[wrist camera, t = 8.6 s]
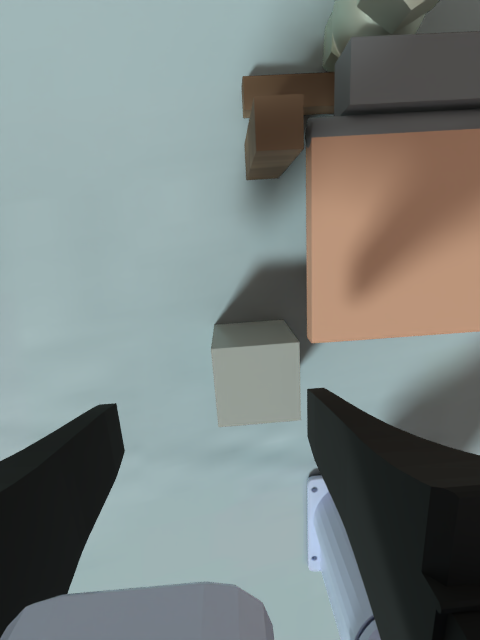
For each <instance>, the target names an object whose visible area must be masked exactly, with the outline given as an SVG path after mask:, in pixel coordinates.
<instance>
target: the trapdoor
mask: <svg viewBox="0 0 480 640" xmlns="http://www.w3.org/2000/svg"><path fill="white" fill-rule="evenodd" d="M305 140H306V234H307V338H308V339H309V340H310V342H311V343H324V342H338V341H352V340H366V339H380V338H394V337H408V336H422V335H436V334H450V333H464V332H478V331H480V31H474V32H452V33H430V34H408V35H385V36H363V37H351V39H350V40H349V42H348V44H347V45H346V47H345V48H344V50H343V52H342V53H341V55H340V56H339V58H338V60H337V61H336V63H335V83H334V116H329V117H310V118H308V121H307V125H306V133H305Z"/></svg>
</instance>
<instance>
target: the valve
mask: <svg viewBox="0 0 480 640" xmlns="http://www.w3.org/2000/svg"><path fill="white" fill-rule="evenodd" d="M439 1H440V0H335V3H334V7H333V12H332V14H331V16H330V18H329V20H328V22H327V24H326V27H325V34H324V50H323V68H324V69H325V70H326V71H328V72H335V63H336V61H337V60H338V58H339V56H340V55H341V53H342V52H343V50H344V48H345V47H346V45H347V44H348V42H349V40H350V39H351V37H363V36H385V35H408V34H415V33H416V32H417V30H418V29H419V27H420V25H421V23H422V21H423V19H424V17H425V14H426V13H427V12H429V11H430V10H432V9H433V8H434V7H435V5H436V4H437V3H438V2H439Z"/></svg>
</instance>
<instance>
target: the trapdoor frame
mask: <svg viewBox="0 0 480 640" xmlns="http://www.w3.org/2000/svg"><path fill="white" fill-rule="evenodd" d="M334 83H335V72H324V73H304V74H283V75H262V76H243V79H242V103H243V118H250V119H249V124H248V129H247V134H246V140H245V163H246V180H257V179H275V178H279V177H280V176H281V175H282V174H283V172H284V171H285V170H286V169H287V168H288V167H289V165H290V164H291V163H292V162H293V161H294V159H295V158H296V157H297V156H298V155H299V154H300V152H301V151H302V150H303V149H304V120H303V115H314V114H333V113H334Z"/></svg>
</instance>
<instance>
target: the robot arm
mask: <svg viewBox="0 0 480 640" xmlns="http://www.w3.org/2000/svg"><path fill="white" fill-rule="evenodd" d="M307 418H308V439H309V443H310V446H311V450H312V453H313V456H314V459H315V462H316V464H317V466H318V469H319V471H320V473H321V475H319V476H311V477H309V478H308V480H307V543H308V567H309V570H311V571H321V572H322V576H323V579H324V583H325V586H326V590H327V593H328V597H329V600H330V604H331V607H332V611H333V614H334V618H335V621H336V625H337V628H338V632H339V635H340V639H341V640H480V455H476V454H472V453H468V452H464V451H460V450H457V449H453V448H450V447H447V446H444V445H441V444H438V443H435V442H432V441H429V440H426V439H423V438H420V437H417V436H415V435H412V434H410V433H407V432H405V431H403V430H400V429H398V428H396V427H393V426H391V425H389V424H387V423H385V422H383V421H381V420H379V419H377V418H375V417H373V416H371V415H369V414H367V413H366V412H364V411H362V410H360V409H359V408H357V407H355V406H353V405H352V404H350V403H348V402H347V401H345V400H344V399H342V398H340V397H339V396H337V395H335V394H334V393H332V392H330V391H329V390H327V389H325V388H314V389H307ZM124 451H125V450H124V444H123V439H122V433H121V428H120V422H119V416H118V411H117V405H116V403H115V404H102V405H98V406H96V407H94V408H92V409H90V410H88V411H87V412H85V413H83V414H82V415H80V416H79V417H77V418H75V419H74V420H72V421H70V422H69V423H67V424H66V425H64V426H62V427H61V428H59V429H58V430H56V431H54V432H53V433H51V434H49V435H48V436H46V437H44V438H42V439H41V440H39V441H37V442H35V443H34V444H32V445H30V446H28V447H27V448H25V449H23V450H21V451H19V452H18V453H16V454H14V455H12V456H10V457H8V458H6V459H4V460H2V461H0V640H274V634H273V626H272V623H271V621H270V618H269V616H268V614H267V611H266V609H265V607H264V604H263V603H262V602H261V601H260V600H258V599H257V598H255V597H254V596H252V595H250V594H249V593H247V592H246V591H244V590H242V589H241V588H239V587H238V586H236V585H232V584H223V583H214V582H195V583H184V584H173V585H163V586H152V587H141V588H130V589H119V590H108V591H97V592H86V593H75V594H67V593H68V590H69V587H70V584H71V582H72V579H73V576H74V573H75V571H76V568H77V565H78V562H79V559H80V557H81V554H82V551H83V549H84V547H85V544H86V542H87V539H88V537H89V535H90V533H91V531H92V529H93V526H94V524H95V522H96V520H97V518H98V516H99V514H100V512H101V509H102V507H103V505H104V503H105V501H106V499H107V497H108V495H109V492H110V490H111V488H112V486H113V484H114V481H115V479H116V477H117V474H118V471H119V468H120V465H121V462H122V458H123V455H124ZM313 487H316V488H314V489H312V488H313Z"/></svg>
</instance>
